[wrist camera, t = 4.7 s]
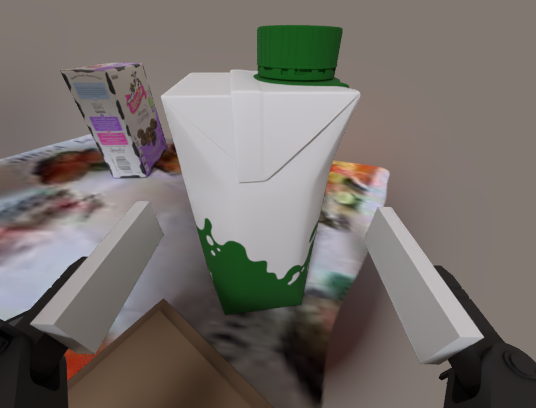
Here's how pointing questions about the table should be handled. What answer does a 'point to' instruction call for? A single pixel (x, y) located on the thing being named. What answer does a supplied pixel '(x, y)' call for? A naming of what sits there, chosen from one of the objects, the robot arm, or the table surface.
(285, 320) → the table surface
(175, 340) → the board
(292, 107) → the milk carton
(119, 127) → the candy box
